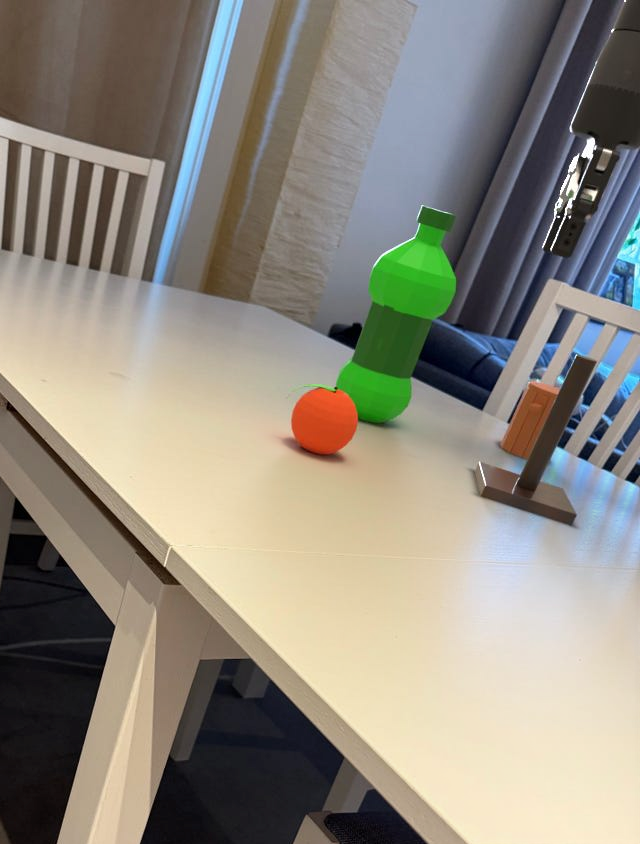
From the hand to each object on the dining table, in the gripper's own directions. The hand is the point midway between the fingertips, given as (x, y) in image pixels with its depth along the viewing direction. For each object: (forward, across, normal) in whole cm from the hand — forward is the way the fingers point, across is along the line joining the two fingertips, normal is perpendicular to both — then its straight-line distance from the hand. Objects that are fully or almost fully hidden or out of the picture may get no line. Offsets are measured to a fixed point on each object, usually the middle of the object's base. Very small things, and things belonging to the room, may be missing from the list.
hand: (554, 254), depth 103 cm
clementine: (+24, -20, +18) cm, 36 cm away
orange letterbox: (+24, +11, -7) cm, 28 cm away
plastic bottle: (+24, +4, +14) cm, 28 cm away
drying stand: (+24, -12, -6) cm, 27 cm away
